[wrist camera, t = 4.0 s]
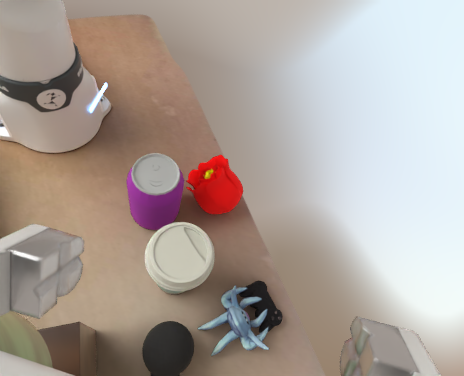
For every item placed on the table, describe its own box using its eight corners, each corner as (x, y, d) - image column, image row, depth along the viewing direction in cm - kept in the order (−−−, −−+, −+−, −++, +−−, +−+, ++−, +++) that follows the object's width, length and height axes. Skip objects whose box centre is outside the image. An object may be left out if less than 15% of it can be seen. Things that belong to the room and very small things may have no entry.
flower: (235, 223, 49) (208, 186, 45) (200, 222, 54) (174, 188, 50) (256, 188, 53) (233, 151, 49) (222, 190, 58) (199, 156, 54)
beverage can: (130, 189, 52) (126, 147, 42) (177, 188, 54) (184, 149, 44) (129, 233, 49) (124, 199, 39) (179, 231, 51) (187, 198, 41)
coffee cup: (203, 303, 47) (218, 287, 36) (143, 304, 45) (141, 288, 35) (202, 247, 51) (216, 218, 40) (147, 246, 49) (147, 216, 39)
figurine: (190, 323, 46) (193, 306, 40) (252, 278, 52) (262, 257, 46) (229, 384, 42) (239, 375, 36) (291, 328, 48) (309, 313, 42)
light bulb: (138, 425, 35) (151, 331, 36) (131, 396, 41) (142, 315, 42) (193, 417, 38) (203, 329, 39) (180, 390, 43) (188, 315, 45)
